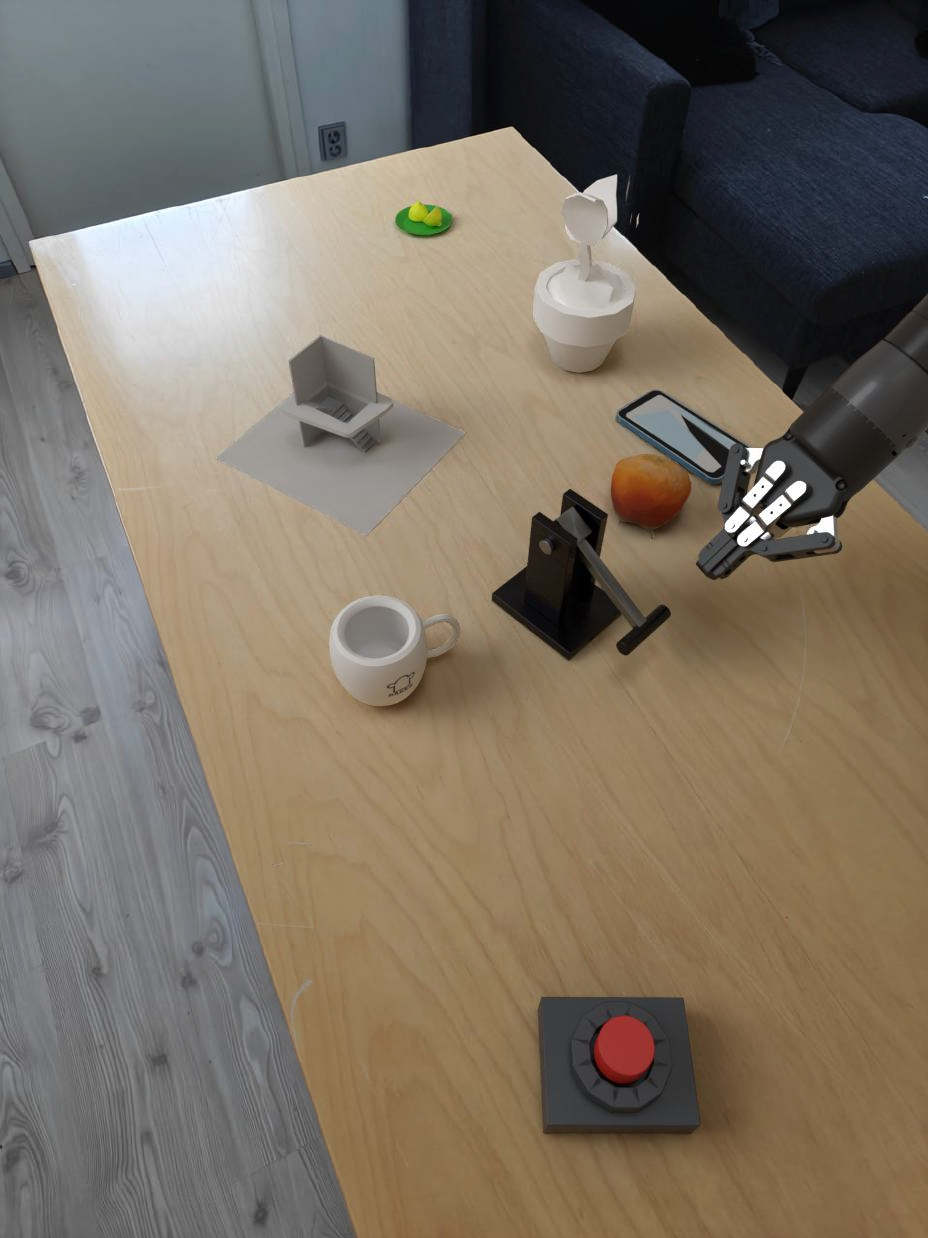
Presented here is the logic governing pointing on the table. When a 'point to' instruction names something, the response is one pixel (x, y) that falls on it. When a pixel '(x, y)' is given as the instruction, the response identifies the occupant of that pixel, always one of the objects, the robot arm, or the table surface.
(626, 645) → the lever
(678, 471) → the fruit
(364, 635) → the mug
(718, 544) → the robot arm
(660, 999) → the button block
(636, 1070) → the button
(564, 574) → the bracket
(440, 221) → the plate of lemons
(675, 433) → the smartphone
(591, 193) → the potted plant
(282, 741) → the table surface
